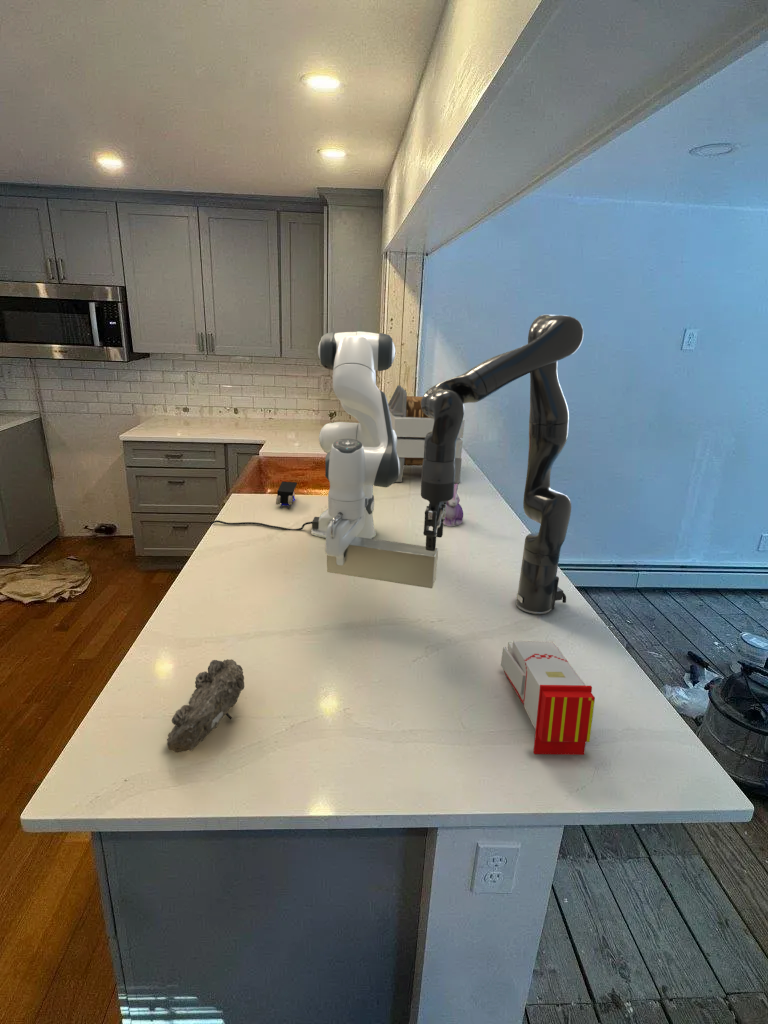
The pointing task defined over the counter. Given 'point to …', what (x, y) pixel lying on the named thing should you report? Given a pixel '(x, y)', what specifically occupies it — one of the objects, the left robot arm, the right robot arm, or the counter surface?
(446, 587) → the counter surface
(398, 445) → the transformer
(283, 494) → the figurine character
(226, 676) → the fossil
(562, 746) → the toy
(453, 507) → the figurine
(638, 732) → the counter surface
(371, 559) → the bar
